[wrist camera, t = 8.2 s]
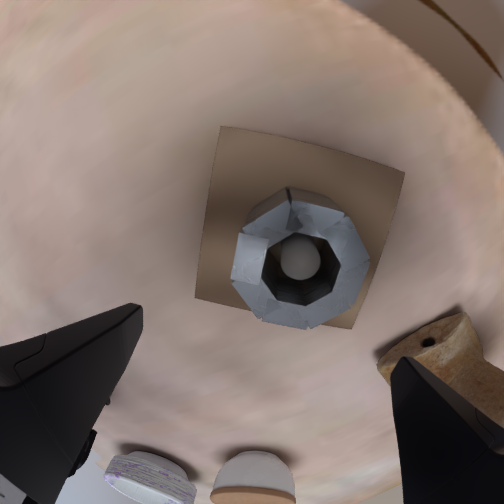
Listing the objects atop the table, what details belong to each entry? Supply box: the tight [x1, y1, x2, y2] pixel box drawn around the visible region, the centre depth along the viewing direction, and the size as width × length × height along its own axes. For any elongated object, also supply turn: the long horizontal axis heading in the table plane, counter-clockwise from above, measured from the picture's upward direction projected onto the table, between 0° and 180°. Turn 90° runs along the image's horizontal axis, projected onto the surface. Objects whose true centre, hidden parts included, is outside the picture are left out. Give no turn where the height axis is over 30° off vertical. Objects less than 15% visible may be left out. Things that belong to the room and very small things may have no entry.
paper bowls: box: [104, 451, 197, 504], centre depth 31 cm, size 15×15×8 cm
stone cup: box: [377, 312, 504, 428], centre depth 15 cm, size 15×12×15 cm
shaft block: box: [195, 126, 405, 330], centre depth 16 cm, size 12×12×6 cm
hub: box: [230, 186, 370, 330], centre depth 15 cm, size 6×6×5 cm
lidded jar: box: [210, 451, 296, 504], centre depth 26 cm, size 11×11×9 cm
